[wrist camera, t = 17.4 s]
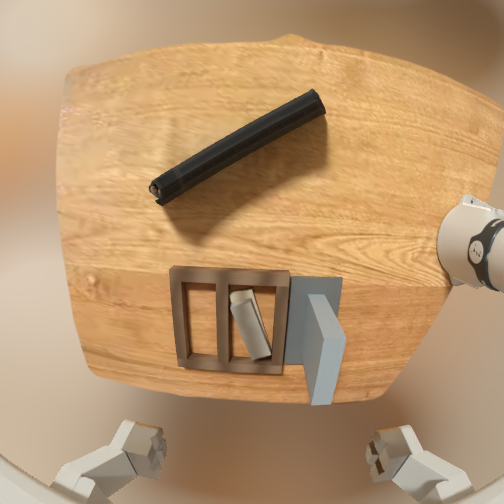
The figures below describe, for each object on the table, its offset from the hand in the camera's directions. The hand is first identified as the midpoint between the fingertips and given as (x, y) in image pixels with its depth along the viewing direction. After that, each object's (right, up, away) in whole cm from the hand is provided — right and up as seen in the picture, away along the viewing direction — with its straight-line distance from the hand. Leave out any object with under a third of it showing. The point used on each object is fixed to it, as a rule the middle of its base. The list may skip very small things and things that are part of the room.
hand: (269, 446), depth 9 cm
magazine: (-3, +24, +35) cm, 43 cm away
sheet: (+10, -6, +41) cm, 42 cm away
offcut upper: (-1, -6, +40) cm, 41 cm away
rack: (-5, -5, +42) cm, 42 cm away
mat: (+10, -6, +41) cm, 43 cm away
